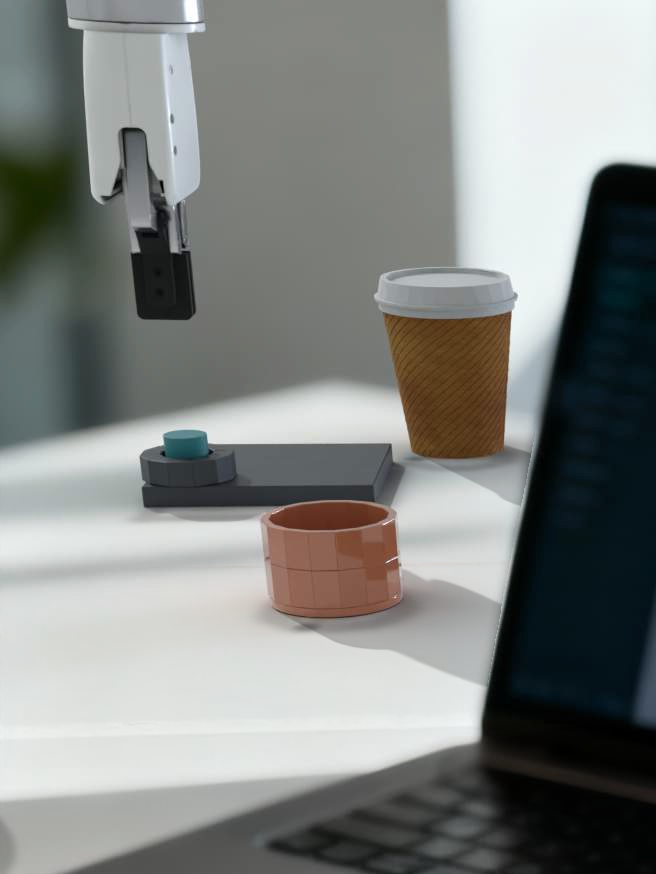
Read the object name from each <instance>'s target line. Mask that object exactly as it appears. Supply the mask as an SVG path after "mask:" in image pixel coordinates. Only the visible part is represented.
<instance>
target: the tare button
mask: <svg viewBox="0 0 656 874" xmlns="http://www.w3.org/2000/svg"><path fill="white" fill-rule="evenodd" d="M162 438H163V445H164V448H165V456H166V457H169V458H196V457H204V456H207V455H209V448H208V443H209V440H208V433H207V432H206V431H203V430H200V429H178V430H176V429H175V430H171V431H167V432H165V433H163V434H162Z"/></svg>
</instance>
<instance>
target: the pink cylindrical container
mask: <svg viewBox="0 0 656 874" xmlns="http://www.w3.org/2000/svg"><path fill="white" fill-rule="evenodd" d="M259 523H260V531H261V532H260V533H261V542H262V552H263V561H264V567H265V568H264V569H265V578H266V587H267V588H266V589H267V595H268V597H269V603H270V606H271V607H272V608H273V609H274V610H277V611H279V612H281V613H284V614H287V615H292V616H299V617H307V618H344V617H345V618H346V617H354V616H363V615H368V614H372V613H378V612H380V611H384V610H387V609H389V608H393V607H394V606H396V605H397V604H399V603H400V602H402V600H403V598H404V589H403V588H404V579H403V567H402V557H401V556H402V555H401V554H402V553H401V543H400V532H399V520H398V512H397V511H396V510H395V509H393V508H392V507H391V506H388V505H384V504H380V503H377V502H376V503H373V502H364V501H353V500H324V501H323V500H322V501H312V502H303V503H296V504H291V505H287V506H277V507H275V508H273V509H271V510H269V511H266V512H264V513H263V514H262V516H261V518H260V519H259Z"/></svg>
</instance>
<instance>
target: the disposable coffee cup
mask: <svg viewBox="0 0 656 874" xmlns="http://www.w3.org/2000/svg"><path fill="white" fill-rule="evenodd" d="M378 280H379V281H378V288H377V292H375V293H374V294H373V297H374V301H375V302H376V303H377V304H378V309H379V310H380V311H381V312H382V316H383V321H384V326H385V331H386V335H387V340H388V344H389V350H390V354H391V358H392V363H393V368H394V373H395V378H396V382H397V388H398V393H399V397H400V402H401V405H402V413H403V416H404V420H405V424H406V430H407V435H408V439H409V444H410V445H409V446H410V450H411V452H412V453H414V454H416V455H418V456H422V457H425V458H426V457H427V458H433V459H445V460H447V459H448V460H450V459H451V460H459V459H474V458H481V457H487V456H492V455H496V454H498V453H500V452H502V451H503V450H504V448H505V435H506V434H505V433H506V416H507V412H506V411H507V399H508V382H509V370H510V369H509V364H510V352H511V351H510V349H511V331H512V317H513V310H514V309H515V306H516V305H515V303H516V302H517V301H518V297H519V294H518V293H517V292H516V291H514V288H513V285H512V281H511V278H510V275H509V274H507V273H504V272H502V271H498V270H494V269H488V268H478V267H464V266H462V267H461V266H429V267H427V266H426V267H413V268H404V269H398V270H397V269H396V270H393V271H387V272H385V273H383V274H381V275H380V276H379V279H378Z"/></svg>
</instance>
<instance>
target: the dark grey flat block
mask: <svg viewBox="0 0 656 874" xmlns="http://www.w3.org/2000/svg"><path fill="white" fill-rule="evenodd" d="M208 448H209V455H207V456H204V457H196V458H169V457H166V456H165V448H164V444H163V445H157V446H154V447H150V448H146V449H144V450H143V451H142V452H141V453H140V454H139V456H138V458H139V463H140V472H141V479H142V481H143V482H144V484H143V485H142V486H141V496H142V504H143V508H208V507H209V508H210V507H211V508H220V507H222V508H226V507H227V508H228V507H229V508H231V507H234V508H235V507H282V506H287V505H291V504H296V503H303V502H312V501H322V500H323V501H324V500H353V501H364V502H373V503H377V502H378V500H379V497H380V495H381V492H382V491H383V488H384V485H385V483H386V480H387V478H388V475H389V473H390V471H391V469H392V466H393V464H394V457H393V445H392V443H390V442H389V443H388V442H386V443H383V442H381V443H376V442H375V443H372V442H371V443H367V442H365V443H362V442H361V443H358V442H357V443H209V442H208Z"/></svg>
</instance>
